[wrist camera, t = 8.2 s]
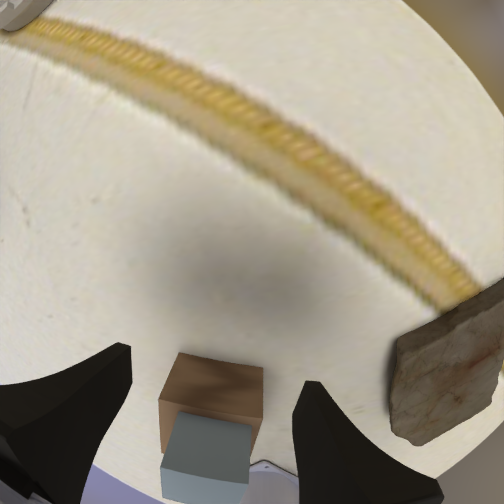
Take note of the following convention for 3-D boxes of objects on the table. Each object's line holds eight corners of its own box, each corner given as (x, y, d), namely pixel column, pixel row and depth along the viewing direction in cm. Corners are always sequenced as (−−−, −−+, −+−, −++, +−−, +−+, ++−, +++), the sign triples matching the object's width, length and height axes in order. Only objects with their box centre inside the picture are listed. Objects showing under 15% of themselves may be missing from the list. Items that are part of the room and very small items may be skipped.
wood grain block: (263, 367, 22) (262, 418, 17) (249, 420, 24) (246, 469, 18) (179, 351, 22) (158, 398, 17) (177, 407, 24) (161, 453, 18)
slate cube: (251, 425, 17) (248, 484, 12) (239, 461, 18) (235, 511, 13) (178, 411, 17) (160, 467, 12) (176, 449, 18) (162, 497, 13)
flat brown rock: (507, 271, 20) (533, 285, 16) (494, 374, 23) (511, 392, 19) (371, 338, 22) (389, 367, 18) (382, 434, 25) (393, 460, 21)
